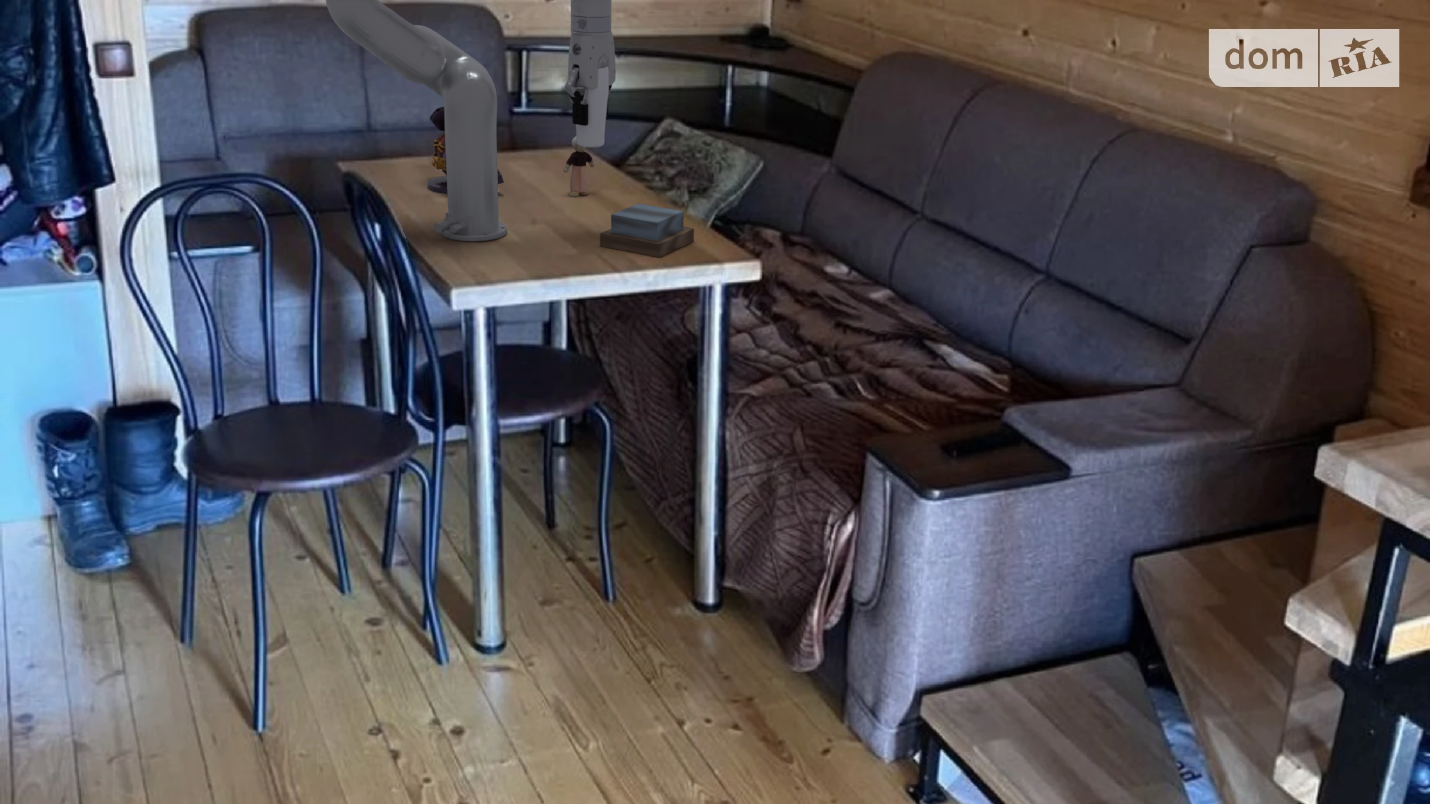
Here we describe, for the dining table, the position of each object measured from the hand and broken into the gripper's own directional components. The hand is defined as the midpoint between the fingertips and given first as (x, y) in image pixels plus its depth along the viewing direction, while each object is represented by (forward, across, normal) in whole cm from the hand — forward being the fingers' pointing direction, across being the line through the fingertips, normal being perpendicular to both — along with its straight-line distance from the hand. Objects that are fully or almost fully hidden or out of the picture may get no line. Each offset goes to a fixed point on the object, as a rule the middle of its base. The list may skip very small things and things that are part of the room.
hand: (590, 120), depth 273 cm
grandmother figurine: (+22, +22, +17) cm, 35 cm away
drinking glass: (+5, 0, 0) cm, 5 cm away
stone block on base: (+21, -2, -14) cm, 26 cm away
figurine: (+22, +12, +41) cm, 48 cm away
